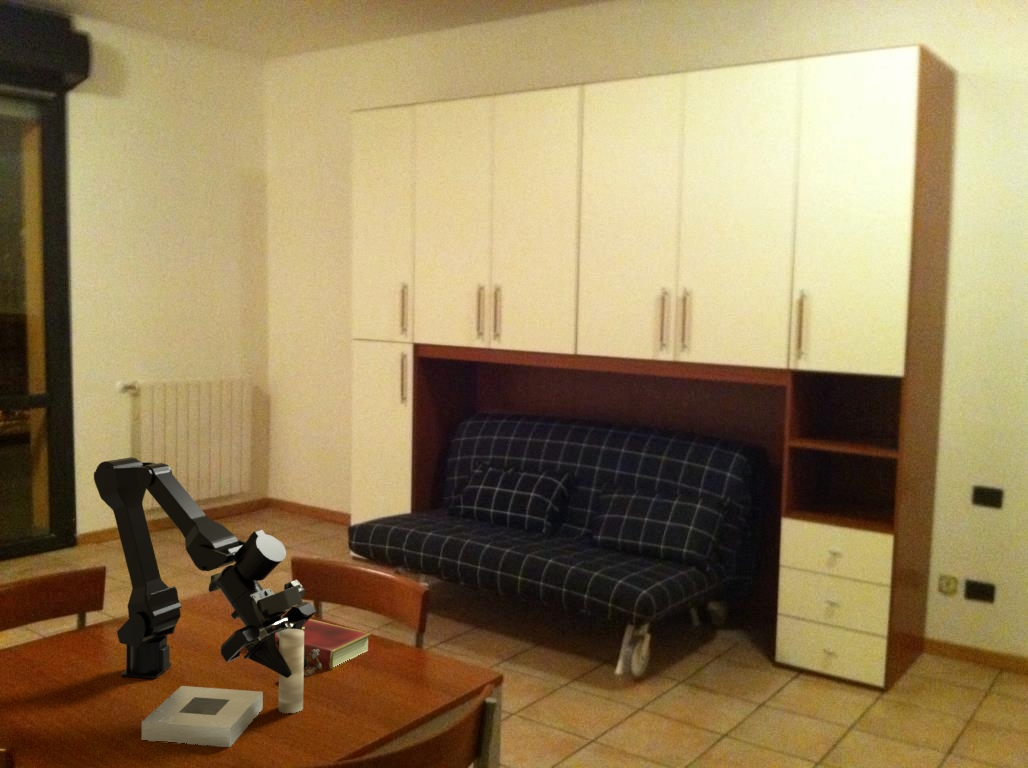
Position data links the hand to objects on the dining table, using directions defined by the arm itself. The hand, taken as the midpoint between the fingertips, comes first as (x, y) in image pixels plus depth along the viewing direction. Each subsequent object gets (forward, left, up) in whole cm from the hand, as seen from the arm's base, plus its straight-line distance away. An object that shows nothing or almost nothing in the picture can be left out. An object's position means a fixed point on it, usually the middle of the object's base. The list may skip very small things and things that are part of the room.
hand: (298, 672), depth 159 cm
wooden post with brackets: (-4, +14, -7) cm, 16 cm away
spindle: (-1, 0, -7) cm, 7 cm away
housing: (-13, -8, -7) cm, 16 cm away
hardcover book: (-7, +28, -7) cm, 30 cm away
